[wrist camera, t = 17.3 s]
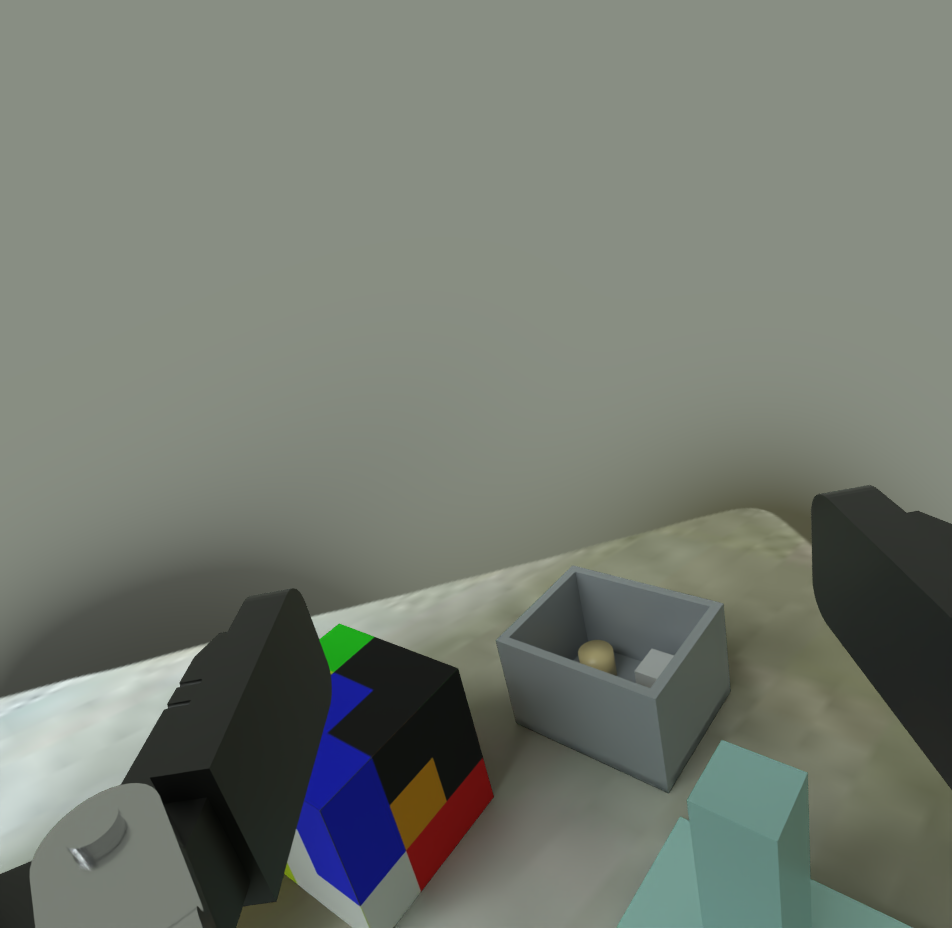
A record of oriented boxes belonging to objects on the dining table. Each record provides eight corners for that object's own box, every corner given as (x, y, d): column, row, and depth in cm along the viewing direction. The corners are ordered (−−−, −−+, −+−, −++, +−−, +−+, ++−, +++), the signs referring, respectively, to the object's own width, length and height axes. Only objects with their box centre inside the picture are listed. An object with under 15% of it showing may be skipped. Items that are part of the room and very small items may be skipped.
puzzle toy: (378, 948, 34) (319, 810, 30) (263, 857, 41) (202, 733, 37) (494, 797, 41) (457, 668, 37) (380, 739, 47) (339, 623, 43)
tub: (516, 722, 46) (495, 640, 43) (586, 642, 52) (572, 565, 49) (668, 793, 39) (655, 699, 36) (730, 690, 45) (723, 603, 42)
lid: (583, 1003, 30) (536, 816, 26) (681, 829, 37) (658, 654, 32) (892, 1232, 23) (906, 1024, 18) (948, 960, 29) (969, 754, 24)
